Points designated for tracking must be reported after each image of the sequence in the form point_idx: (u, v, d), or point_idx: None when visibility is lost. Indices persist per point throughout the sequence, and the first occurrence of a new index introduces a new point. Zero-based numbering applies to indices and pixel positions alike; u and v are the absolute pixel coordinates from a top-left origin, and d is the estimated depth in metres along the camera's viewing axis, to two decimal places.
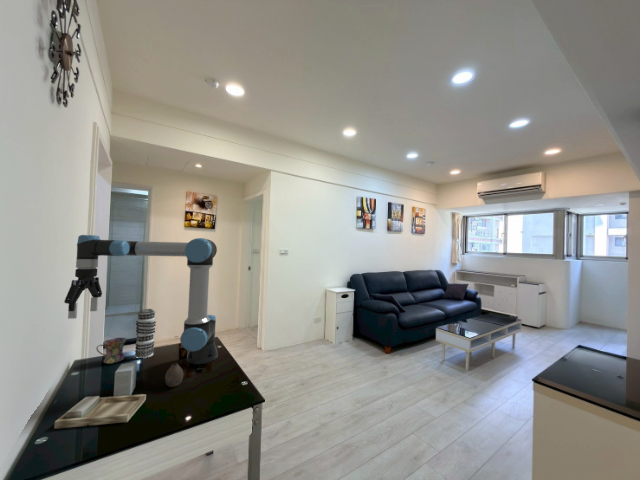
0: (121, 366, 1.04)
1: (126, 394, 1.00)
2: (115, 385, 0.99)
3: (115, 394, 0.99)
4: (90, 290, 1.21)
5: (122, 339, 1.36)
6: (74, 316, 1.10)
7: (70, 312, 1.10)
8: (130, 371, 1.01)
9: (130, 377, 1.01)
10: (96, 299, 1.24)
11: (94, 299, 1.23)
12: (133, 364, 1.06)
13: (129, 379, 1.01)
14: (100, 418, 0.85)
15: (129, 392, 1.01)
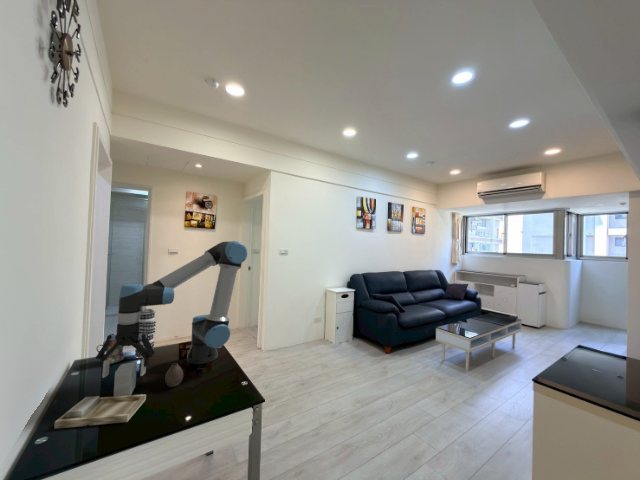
0: (121, 366, 1.04)
1: (126, 394, 1.00)
2: (115, 385, 0.99)
3: (115, 394, 0.99)
4: None
5: None
6: None
7: None
8: (130, 371, 1.01)
9: (130, 377, 1.01)
10: None
11: None
12: (133, 364, 1.06)
13: (129, 379, 1.01)
14: (100, 418, 0.85)
15: (129, 392, 1.01)
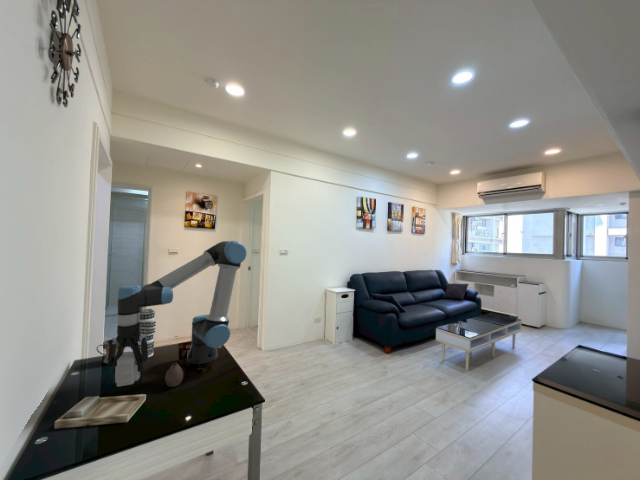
0: (123, 354, 1.05)
1: (129, 381, 1.01)
2: (118, 373, 1.00)
3: (118, 381, 1.00)
4: None
5: None
6: None
7: None
8: (132, 359, 1.02)
9: (132, 365, 1.02)
10: None
11: None
12: None
13: (131, 367, 1.02)
14: (100, 418, 0.85)
15: (132, 379, 1.02)
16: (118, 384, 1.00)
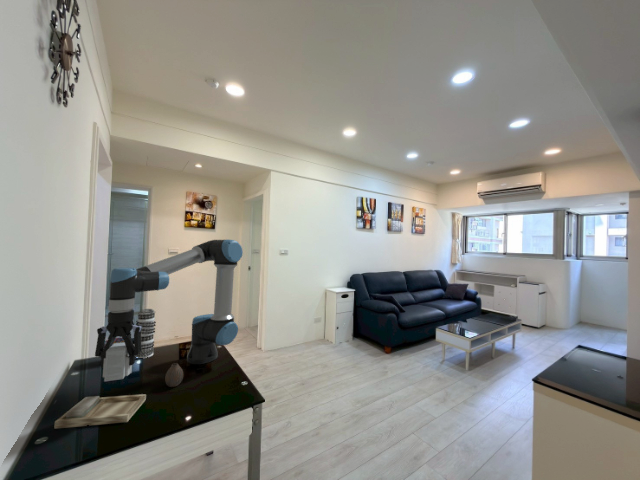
0: (113, 345, 0.93)
1: (119, 376, 0.89)
2: (106, 365, 0.88)
3: (106, 376, 0.88)
4: None
5: (122, 339, 1.36)
6: None
7: None
8: (123, 350, 0.90)
9: (123, 357, 0.90)
10: None
11: None
12: None
13: (122, 359, 0.89)
14: (100, 418, 0.85)
15: (122, 374, 0.89)
16: (106, 378, 0.88)
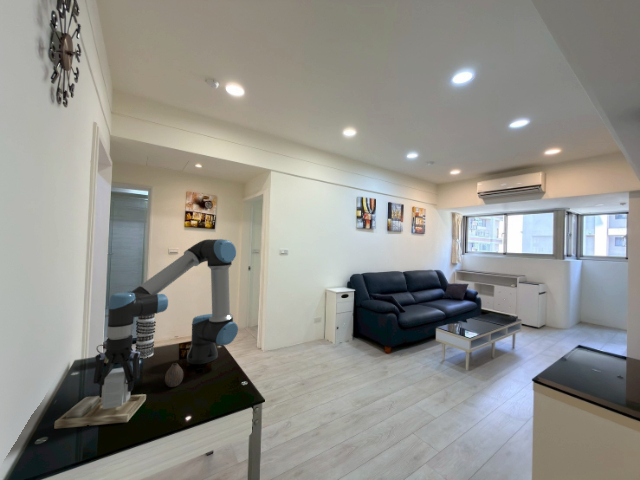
0: (112, 371, 0.92)
1: (117, 403, 0.88)
2: (105, 393, 0.87)
3: (105, 403, 0.87)
4: None
5: None
6: None
7: None
8: (121, 377, 0.89)
9: (122, 384, 0.89)
10: None
11: None
12: None
13: (121, 386, 0.89)
14: (100, 418, 0.85)
15: (121, 401, 0.89)
16: (104, 406, 0.87)
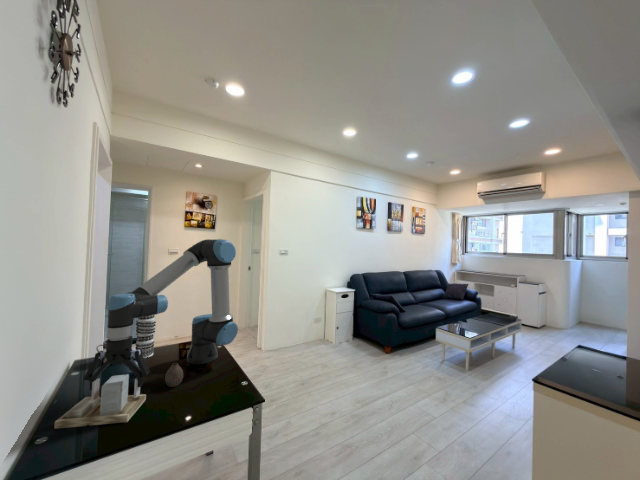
0: (110, 379, 0.92)
1: (114, 412, 0.88)
2: (102, 401, 0.87)
3: (102, 411, 0.87)
4: None
5: None
6: None
7: None
8: (118, 386, 0.89)
9: (118, 392, 0.89)
10: None
11: None
12: (124, 377, 0.94)
13: (117, 395, 0.89)
14: (100, 418, 0.85)
15: (117, 409, 0.88)
16: (101, 414, 0.87)
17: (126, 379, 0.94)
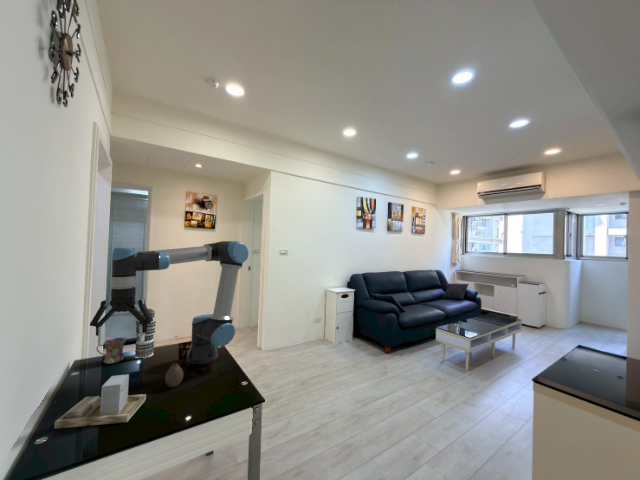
0: (110, 379, 0.92)
1: (114, 412, 0.88)
2: (102, 401, 0.87)
3: (102, 411, 0.87)
4: None
5: (122, 339, 1.36)
6: None
7: None
8: (118, 386, 0.89)
9: (118, 392, 0.89)
10: None
11: None
12: (124, 377, 0.94)
13: (117, 395, 0.89)
14: (100, 418, 0.85)
15: (117, 409, 0.88)
16: (101, 414, 0.87)
17: (126, 379, 0.94)
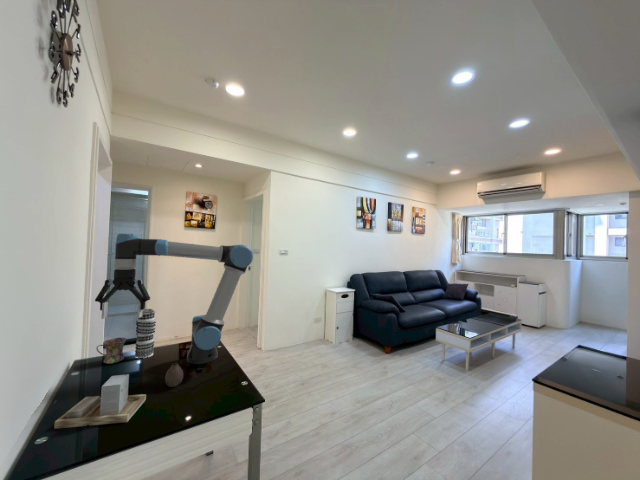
0: (110, 379, 0.92)
1: (114, 412, 0.88)
2: (102, 401, 0.87)
3: (102, 411, 0.87)
4: None
5: (122, 339, 1.36)
6: None
7: None
8: (118, 386, 0.89)
9: (118, 392, 0.89)
10: None
11: None
12: (124, 377, 0.94)
13: (117, 395, 0.89)
14: (100, 418, 0.85)
15: (117, 409, 0.88)
16: (101, 414, 0.87)
17: (126, 379, 0.94)
